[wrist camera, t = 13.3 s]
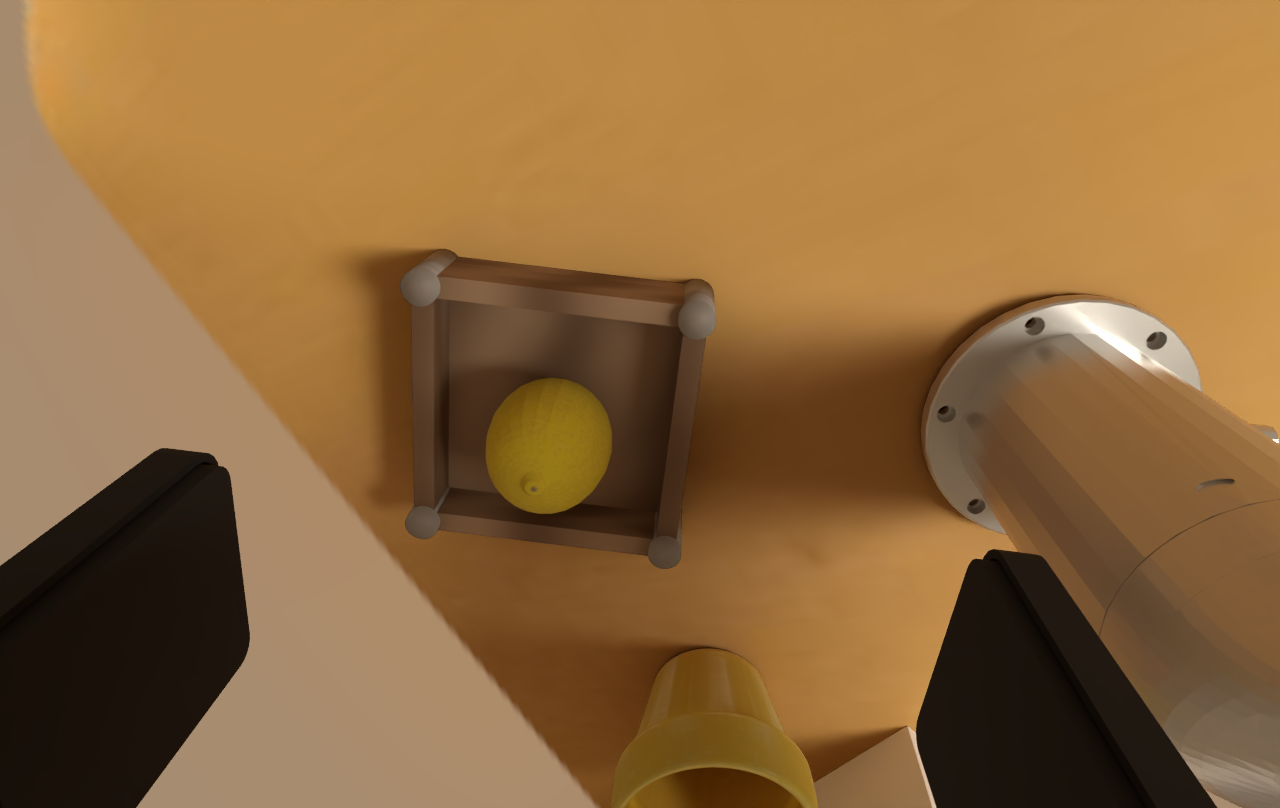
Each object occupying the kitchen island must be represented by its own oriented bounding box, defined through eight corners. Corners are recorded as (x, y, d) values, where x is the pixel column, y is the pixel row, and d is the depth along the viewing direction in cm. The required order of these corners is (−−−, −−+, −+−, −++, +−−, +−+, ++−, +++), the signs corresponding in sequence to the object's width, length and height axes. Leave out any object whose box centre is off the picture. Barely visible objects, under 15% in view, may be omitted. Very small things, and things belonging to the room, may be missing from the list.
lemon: (535, 468, 41) (499, 560, 33) (490, 373, 39) (442, 450, 31) (636, 437, 40) (621, 526, 32) (595, 338, 38) (569, 410, 30)
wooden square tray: (715, 280, 37) (718, 305, 34) (679, 526, 43) (678, 570, 39) (428, 247, 37) (399, 268, 34) (429, 495, 43) (405, 537, 39)
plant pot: (789, 760, 49) (810, 918, 40) (622, 750, 50) (607, 903, 41) (806, 626, 45) (834, 769, 36) (624, 616, 45) (607, 754, 37)
